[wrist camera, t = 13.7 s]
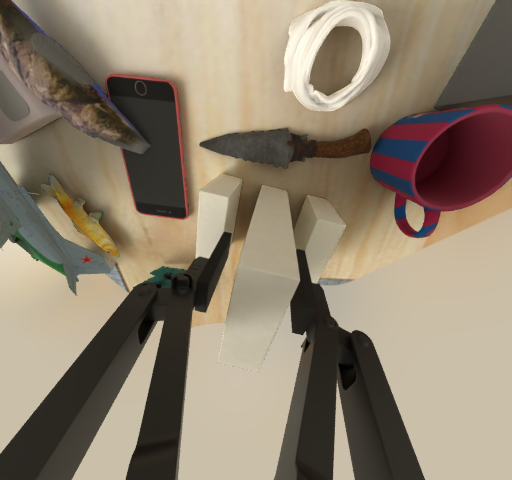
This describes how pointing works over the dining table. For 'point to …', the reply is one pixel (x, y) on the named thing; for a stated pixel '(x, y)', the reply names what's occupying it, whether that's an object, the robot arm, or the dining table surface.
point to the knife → (286, 146)
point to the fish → (81, 217)
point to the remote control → (20, 108)
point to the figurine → (163, 276)
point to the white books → (305, 232)
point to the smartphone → (153, 144)
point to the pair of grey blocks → (484, 65)
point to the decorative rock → (62, 81)
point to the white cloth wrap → (311, 38)
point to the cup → (444, 160)
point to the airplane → (42, 235)
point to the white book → (261, 283)
